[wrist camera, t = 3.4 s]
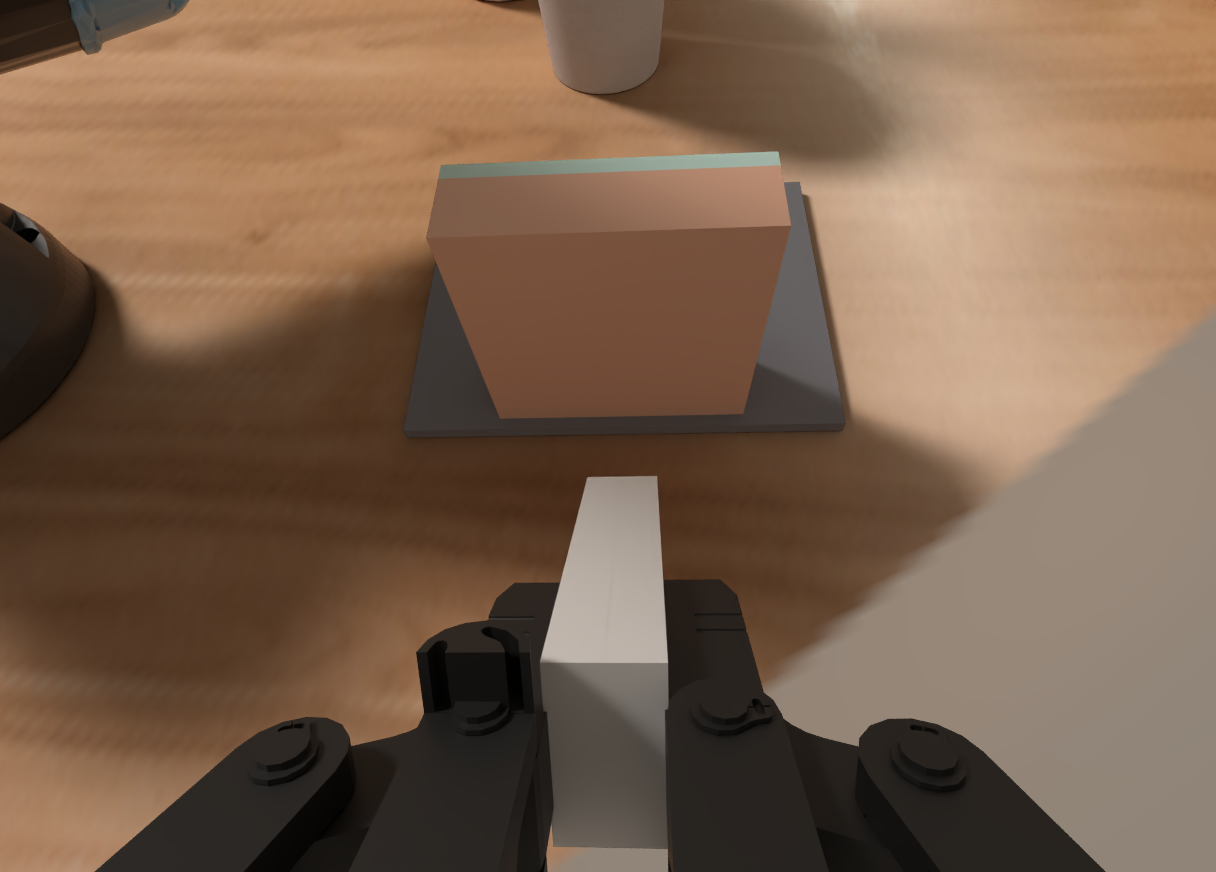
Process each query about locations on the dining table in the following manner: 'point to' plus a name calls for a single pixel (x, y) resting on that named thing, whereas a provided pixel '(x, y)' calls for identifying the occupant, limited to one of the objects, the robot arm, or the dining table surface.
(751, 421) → the mat
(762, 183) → the tile
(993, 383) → the dining table surface
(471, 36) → the dining table surface
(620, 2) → the coffee cup
